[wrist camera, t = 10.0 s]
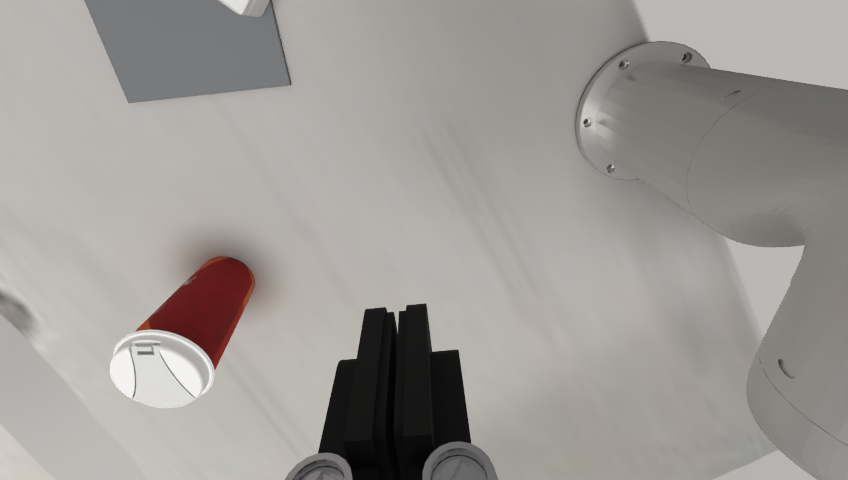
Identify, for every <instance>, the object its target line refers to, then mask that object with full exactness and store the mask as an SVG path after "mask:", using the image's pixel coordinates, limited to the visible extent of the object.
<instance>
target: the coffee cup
mask: <svg viewBox="0 0 848 480" xmlns="http://www.w3.org/2000/svg"><path fill="white" fill-rule="evenodd" d="M253 288H254V277H253V274H252V273H251V271H250V270H249V268H248V267H247V266H246V265H244V264H243V263H241V262H240V261H238V260H236V259H233V258H228V257H217V258H214V259H211V260H210V261H208V262H207V263H205V264H204V265H203V266H202V267H201V268H200V269H199V270H198V271H196V272H195V273H194V274H193V275H192V276H191V277H190V278H189V279H188V280H187V281H186V282H185V283H184V284H183V285H182V286H181V287H180V288H179V289H178V290H177V291H176V292H175V293H174V294H173V295H172V296H171V297H170V298H169V299H168V300H167V301H166V302H164V303H163V304H162V305H161V306H160V307H159V308H158V309H157V310H156V311H155V312H154V313H153V314H152V315H151V316H150V317H149V318H148V319H147V320H146V321H145V322H144V323H143V324H142V325H141V326H140V327H139V328H138V329H137V330H136V331H135V332H133V333H130V334H128V335H126V336H124V337H123V338H122V339H121V340H120V341H119V342H118V343H117V345H116V346H115V349H114V352H113V358H112V360H111V363H110V375H111V378H112V380H113V382H114V383H115V385H116V386H117V387H118V389H119V390H120V391H122V392H123V393H124V394H125V395H127V396H128V397H129V398H131V399H133V400H135V401H138V402H140V403H143V404H146V405H148V406H152V407H158V408H176V407H181V406H184V405H187V404H188V403H190V402H192V401H193V400H194V399H196V398H198V397H199V396H201V395H202V394H204V393H205V392H206V391H208V389H209V388H210V387H211V385H212V384H213V382H214V378H215V369H216V367H217V365H218V363H219V360H220V358H221V356H222V354H223V352H224V350H225V348H226V346H227V344H228V342H229V340H230V338H231V336H232V334H233V332H234V330H235V328H236V325H237V323H238V321H239V319H240V317H241V315H242V313H243V311H244V309H245V307H246V304H247V302H248V300H249V298H250V296H251V293H252V291H253Z"/></svg>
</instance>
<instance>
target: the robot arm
mask: <svg viewBox="0 0 848 480" xmlns="http://www.w3.org/2000/svg"><path fill="white" fill-rule="evenodd" d="M683 55H684V57H683ZM682 57H683V59H682ZM621 61H622V65H621V66H620V67H619V63H620V62H621ZM585 119H587V121H586V122H585V123H583V121H584V120H585ZM576 137H577V141H578V144H579V148H580V150H581V151H582V153H583V155H584V157H585V158H586V159H587V161H588V162H589V163H590V164H591V165H592V166H593V167H595V168H596V169H597V170H598V171H600V172H601V173H603V174H605V175H607V176H610V177H613V178H616V179H622V180H637V179H641V180H642V181H644V182H645V183H646V184H648V185H649V186H651V187H652V188H654V189H655V190H657V191H658V192H659V193H661V194H662V195H664V196H665V197H667V198H668V199H669V200H671V201H672V202H674V203H675V204H677V205H678V206H680V207H681V208H682V209H684V210H685V211H687V212H688V213H690V214H691V215H692V216H694V217H695V218H697V219H698V220H700V221H701V222H702V223H704V224H706V225H707V226H709V227H710V228H712V229H713V230H715V231H716V232H718V233H719V234H721V235H723V236H725V237H727V238H729V239H731V240H734V241H736V242H740V243H743V244H748V245H753V246H758V247H791V246H799V245H805V247H804V251H803V255H802V258H801V260H800V262H799V265H798V267H797V269H796V271H795V273H794V275H793V277H792V279H791V283H790V287H789V288H788V290H787V292H786V294H785V297H784V298H783V300H782V302H781V304H780V306H779V308H778V310H777V312H776V314H775V316H774V318H773V320H772V322H771V324H770V326H769V328H768V330H767V332H766V334H765V336H764V338H763V340H762V342H761V345H760V347H759V349H758V351H757V353H756V356H755V358H754V360H753V363H752V365H751V368H750V370H749V374H748V379H747V386H746V394H747V400H748V404H749V408H750V410H751V413H752V415H753V417H754V419H755V421H756V422H757V424H758V426H759V427H760V428H761V430H762V431H763V432H764V434H765V435H766V436H767V437H768V439H769V440H770V441H771V442H772V443H773V444H774V445H775V446H776V447H777V448H778V449H779V450H780V451H781V452H782V453H784V455H786V456H787V457H788V458H789V459H790V460H792V461H793V462H794V463H795V464H796V465H798V466H799V467H800V468H802V469H803V470H804V471H806V472H807V473H809V474H810V475H812V476H813V477H814V478H816V479H817V480H848V90H845V89H838V88H831V87H825V86H819V85H812V84H806V83H799V82H793V81H786V80H780V79H774V78H768V77H761V76H755V75H749V74H742V73H735V72H730V71H723V70H717V69H711V68H710V66H709V65H708V63H707V62H706V60H705V59H704V58H703V57H702V56H701V55H700V54H699V53H698V52H697V51H696V50H693V49H692V48H690V47H688V46H686V45H683V44H679V43H674V42H665V41H657V42H648V43H644V44H640V45H637V46H634V47H631V48H629V49H628V50H626V51H624V52H622V53H620V54H618V55H617V56H616V57H614V58H613V59H612V60H610V61H609V62H607V63H606V64H605V65H604V66H603V67H602V68H601V69H600V71H599V72H598V73H597V74H596V75H595V76H594V78H593V79H592V80H591V82H590V83H589V85H588V86H587V88H586V90H585V92H584V94H583V96H582V98H581V101H580V104H579V108H578V111H577V117H576ZM609 165H610V166H609ZM608 166H609V167H608ZM607 167H608V168H607ZM285 480H498V478H497V475H496V472H495V469H494V466H493V464H492V462H491V460H490V459H489V457H488V456H487V455H486V454H485V453H484V452H483V451H482V450H481V449H480V448H478V447H477V446H475V445H473V444H471V438H470V431H469V424H468V416H467V409H466V402H465V394H464V387H463V380H462V372H461V365H460V358H459V351H458V350H448V351H437V352H432V347H431V339H430V330H429V322H428V314H427V306H426V304H416V305H407V306H406V311H399V324H398V333H397V327H396V321H395V315H394V312H387V310H386V308H385V307H384V308H374V309H366V310H365V313H364V319H363V325H362V331H361V337H360V343H359V349H358V355H357V359H349V360H340V361H339V363H338V366H337V370H336V375H335V379H334V384H333V388H332V393H331V397H330V402H329V406H328V411H327V415H326V420H325V424H324V429H323V433H322V438H321V442H320V447H319V451H318V454H315V455H313V456H310V457H307V458H306V459H304V460H303V461H301V462H300V463H298V464H297V465H296V466H295V467H294V468H293V469H292V470H291V471H290V472H289V474H288V475H287V477H286V479H285Z"/></svg>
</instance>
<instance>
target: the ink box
mask: <svg viewBox="0 0 848 480" xmlns="http://www.w3.org/2000/svg"><path fill="white" fill-rule="evenodd" d="M219 1H220V2H221V3H223V4H224V5H226V6H227V7H228V8H230V9H231V10H233V11H234V12H236V13H237V14H239V15H246V16H256V17H261V16H262V15H263V13H264V11H265V9H266V7H267V5H268V3H269V0H219Z"/></svg>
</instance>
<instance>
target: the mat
mask: <svg viewBox="0 0 848 480" xmlns="http://www.w3.org/2000/svg"><path fill="white" fill-rule="evenodd" d="M85 3H86V5H87V7H88V10H89V12H90V14H91V17H92V19H93V21H94V24H95V26H96V28H97V31H98V33H99V35H100V38H101V40H102V42H103V45H104V47H105V49H106V52H107V54H108V56H109V59H110V61H111V63H112V66H113V68H114V70H115V73H116V75H117V77H118V80H119V82H120V84H121V87H122V89H123V91H124V94H125V96H126V98H127V101H128V103H134V102H143V101H152V100H161V99H170V98H179V97H188V96H197V95H206V94H215V93H225V92H234V91H243V90H252V89H261V88H270V87H279V86H288V85H291V81H290V77H289V73H288V69H287V65H286V60H285V56H284V52H283V48H282V44H281V40H280V35H279V31H278V27H277V23H276V19H275V15H274V10H273V6H272V2H271V0H269V3H268V5H267V7H266V9H265V11H264V13H263V15H262V16H261V17H256V16H246V15H239V14H237V13H236V12H234V11H233V10H231V9H230V8H228V7H227V6H226V5H224V4H223V3H221V2H220V1H219V0H85Z"/></svg>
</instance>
